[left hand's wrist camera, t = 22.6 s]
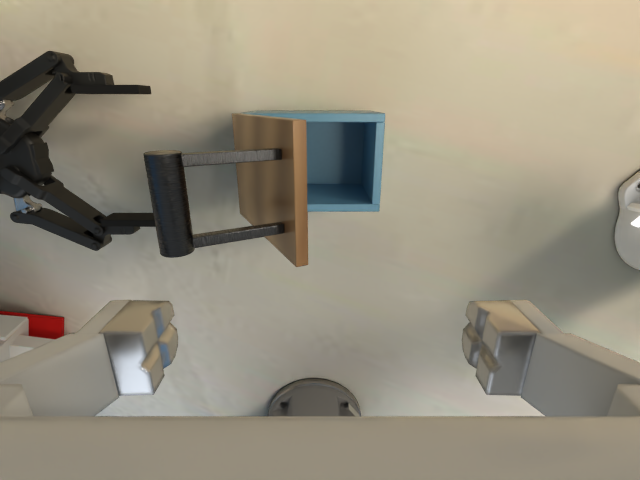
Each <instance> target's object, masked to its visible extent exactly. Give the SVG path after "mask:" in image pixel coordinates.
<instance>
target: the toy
mask: <svg viewBox="0 0 640 480" xmlns="http://www.w3.org/2000/svg"><path fill="white" fill-rule="evenodd" d="M62 336H64V318H63V317H54V316H44V315H34V314H25V313H15V312H6V311H0V362H3V361H5V360H8V359H10V358H12V357H15V356H17V355H20V354H22V353H24V352H27V351H29V350H31V349H34V348H36V347H39V346H41V345H43V344H46V343H48V342H50V341H53V340H55V339H58V338H60V337H62Z"/></svg>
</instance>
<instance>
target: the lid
mask: <svg viewBox="0 0 640 480" xmlns="http://www.w3.org/2000/svg"><path fill="white" fill-rule="evenodd" d="M232 121H233V133H234V145H235V150H231V151H213V152H196V153H182V152H181V151H177V150H160V151H150V152H146V153H144V160H145V166H146V172H147V178H148V184H149V190H150V196H151V202H152V207H153V213H154V219H155V225H156V231H157V237H158V243H159V249H160V254H161V255H162V256H164V257H181V256H185V255H188V254H190V253H192V252H193V251H194V249H195V248H198V247H204V246H210V245H216V244H222V243H228V242H234V241H240V240H246V239H253V238H259V237H265V238H266V239H267V240H268V241H269V242H271V243H272V244H273V245H274V246H275V247H276V248H277V249H278V250H279V251H280V252H281V253H282V254H283V255H284V256H285V257H286V258H287V259H288V260H289V261H290V262H291V263H293V264H294V265H295V266H296V267H300V266H304V265H308V213H307V132H306V120H303V119H293V118H283V117H272V116H262V115H252V114H242V113H237V114H232ZM230 163H236V170H237V182H238V194H239V207H240V214H241V215H242V216H243V217H244V218H245V219H246V220H247V221H248V222H250V223H251V224H252V225H253V226H249V227H242V228H235V229H228V230H222V231H215V232H208V233H201V234H195V235H193V233H192V225H191V218H190V210H189V203H188V195H187V188H186V180H185V173H184V167H188V166H202V165H216V164H230Z"/></svg>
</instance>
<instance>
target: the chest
mask: <svg viewBox="0 0 640 480" xmlns="http://www.w3.org/2000/svg"><path fill="white" fill-rule="evenodd" d="M242 114H252V115H262V116H272V117H283V118H293V119H303V120H306V132H307V211H379V208H380V192H381V176H382V159H383V143H384V126H385V113H379V112H374V111H252V112H245V113H242Z"/></svg>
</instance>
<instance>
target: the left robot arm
mask: <svg viewBox="0 0 640 480" xmlns="http://www.w3.org/2000/svg"><path fill="white" fill-rule="evenodd" d="M639 183H640V171H639V172H637V173H636V174H635V175H634V176H632V177H631V178H630V179H628V180H627V181H626V182H625V183H623V184H622V185H621V187H620V188H619V191H618V200H619V207H620V212H619V216H618V220H617V223H616V227H615V245H616V249H617V251H618V254H619V255H620V257H621V258H622V259H623V261H624V262H625V263H627V264H628V265H629V266H631V267H633V268H635V269H638V270H640V185H639V186H638V184H639ZM173 317H174V310H173V306H172V304H171V303H170V302H169V301H148V300H133V301H132V300H114V301H110V302H109V303H108V304H107V305H106V306H105V307H104V308H102V309H101V310H100V311H99V312H98V313H97V314H96V315H95V316H94V317H93V318H92V319H91V320H90V321H89V322H87V323H86V324H85V325H84V326H83V327H82V328H81V329H80V330H79V331H78V332H77V333H69V334H67V335H65V336H62V337H60V338H58V339H55V340H53V341H50V342H48V343H46V344H43V345H41V346H39V347H36V348H34V349H31V350H29V351H27V352H24V353H22V354H20V355H17V356H15V357H12V358H10V359H8V360H5V361H3V362H0V480H640V363H639V362H637V361H635V360H632V359H630V358H627V357H625V356H623V355H620V354H618V353H616V352H613V351H611V350H608V349H606V348H604V347H601V346H599V345H597V344H594V343H592V342H589V341H587V340H585V339H582V338H580V337H578V336H575V335H573V334H571V333H563V332H562V331H561V330H560V329H559V328H558V327H557V326H556V325H555V324H554V323H553V322H552V321H550V320H549V319H548V318H547V317H546V316H545V315H544V314H543V313H542V312H541V311H540V310H539V309H538V308H537V307H536V306H534V305H533V304H532V303H531V302H530V301H527V300H501V301H471V302H469V304H468V306H467V310H466V317H467V318H468V320H469V321H470V323H469V324H468V325H467V326H466V327H465V328H464V329H463V335H462V346H463V352H464V355H465V358H466V360H467V361H468V363H469V364H470V365H471V366H473V367H475V368H476V369H477V370H476V377H477V379H478V381H479V383H480V384H481V386H482V388H483V389H484V391H485V393H486V395H517V396H521V398H523V399H524V400H525V401H527V402H528V403H529V404H531V405H532V406H533V407H534V408H536V409H537V410H538V411H540V412H541V413H542V414H544V415H545V416H95V415H97V414H98V413H99V412H100V411H102V410H103V409H104V408H106V407H107V406H108V405H110V404H111V403H112V402H114V401H115V400H116V399H118V398H119V396H123V395H154V393H155V391H156V389H157V388H158V386H159V384H160V383H161V381H162V379H163V377H164V370H163V369H164V368H165V367H167V366H169V365H170V364H171V363H172V361H173V360H174V358H175V355H176V351H177V347H178V334H177V329H176V328H175V327H174V326H173V325H172V324H171V323H170V321H171V320H172V318H173Z"/></svg>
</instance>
